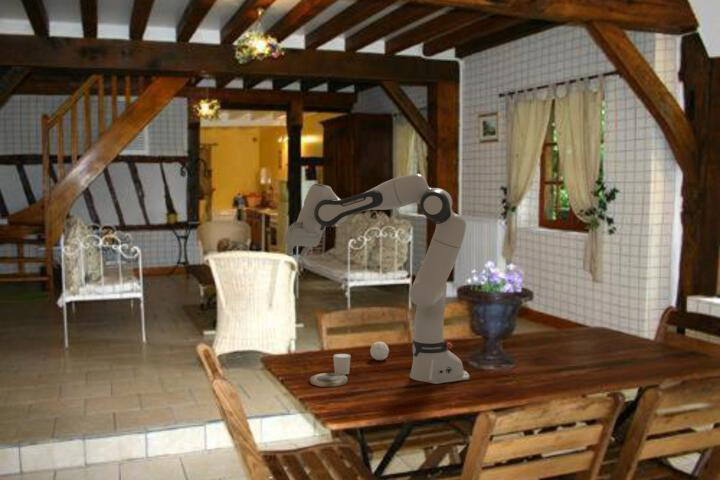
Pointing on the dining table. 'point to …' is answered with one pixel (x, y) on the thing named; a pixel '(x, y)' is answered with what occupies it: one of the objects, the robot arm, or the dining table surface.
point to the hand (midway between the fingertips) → (296, 255)
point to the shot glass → (342, 363)
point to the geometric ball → (379, 350)
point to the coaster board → (328, 380)
